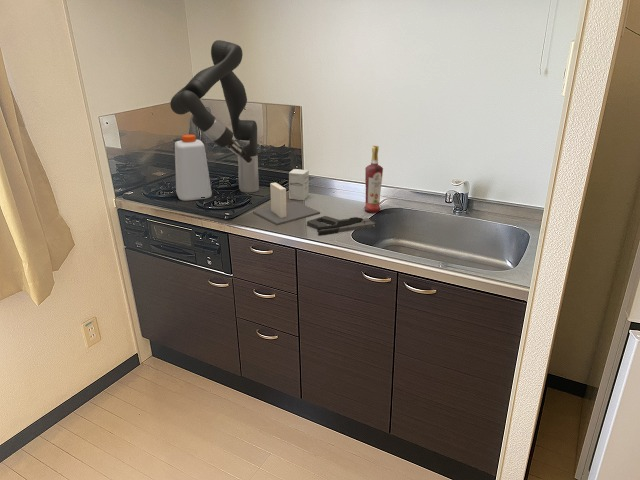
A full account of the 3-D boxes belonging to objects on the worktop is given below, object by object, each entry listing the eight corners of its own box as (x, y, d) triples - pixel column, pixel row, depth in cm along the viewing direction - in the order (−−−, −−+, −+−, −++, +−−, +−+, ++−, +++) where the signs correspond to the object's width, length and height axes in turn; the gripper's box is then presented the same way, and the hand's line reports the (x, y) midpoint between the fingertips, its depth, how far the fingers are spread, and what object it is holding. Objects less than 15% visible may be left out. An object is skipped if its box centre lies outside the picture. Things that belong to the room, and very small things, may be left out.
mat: (253, 213, 214) (252, 211, 214) (294, 202, 227) (294, 201, 226) (277, 225, 201) (277, 223, 201) (320, 213, 214) (320, 211, 214)
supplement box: (288, 199, 232) (288, 172, 227) (294, 194, 238) (293, 168, 233) (303, 200, 230) (303, 173, 225) (309, 196, 236) (309, 169, 231)
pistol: (304, 218, 203) (316, 231, 191) (361, 211, 212) (377, 223, 199) (304, 223, 204) (316, 236, 191) (361, 216, 213) (377, 228, 200)
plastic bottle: (213, 198, 231) (208, 137, 220) (179, 202, 226) (173, 140, 215) (207, 189, 244) (202, 131, 233) (175, 192, 239) (169, 133, 228)
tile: (271, 210, 215) (270, 183, 210) (277, 209, 216) (276, 182, 211) (280, 217, 207) (280, 189, 202) (287, 216, 208) (286, 188, 203)
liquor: (368, 214, 213) (371, 149, 202) (360, 209, 220) (363, 145, 209) (383, 212, 216) (387, 147, 205) (375, 207, 222) (379, 143, 211)
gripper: (230, 127, 184) (262, 157, 195) (218, 122, 195) (249, 150, 205) (217, 143, 184) (250, 172, 194) (206, 137, 195) (238, 164, 205)
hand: (249, 160), depth 200 cm, fingers closed
